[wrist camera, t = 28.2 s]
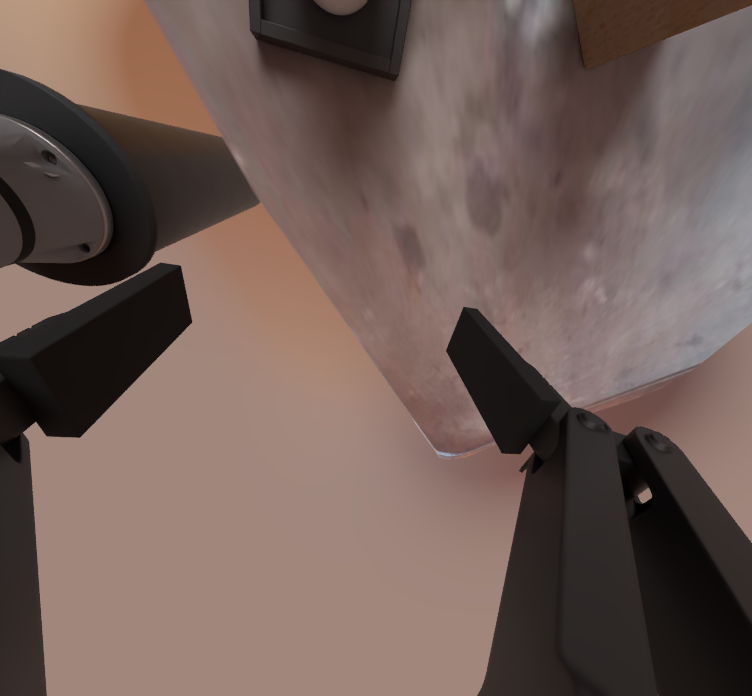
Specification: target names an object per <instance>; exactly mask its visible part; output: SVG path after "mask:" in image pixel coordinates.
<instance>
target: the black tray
mask: <svg viewBox="0 0 752 696" xmlns="http://www.w3.org/2000/svg"><path fill="white" fill-rule="evenodd" d="M410 6H411V0H369V1H368V2H367V3H366V4H365V5H364V6H363V7H362V8H361V9H360V10H358V11H357V12H355V13H352V14H350V15H343V16H341V15H335V14H331V13H329V12H327V11H325V10H324V9H322V8H321V7H320V6H318V5H317V4H316V3H315V2H314V1H313V0H249V14H250V31H251V32H252V34H253V35H254V37H255V38H256V39H257V40H260V41H263V42H267V43H270V44H273V45H277V46H280V47H283V48H287V49H290V50H293V51H297V52H300V53H303V54H307V55H310V56H313V57H317V58H320V59H323V60H327V61H330V62H333V63H337V64H340V65H343V66H347V67H350V68H353V69H357V70H360V71H363V72H367V73H370V74H373V75H377V76H380V77H383V78H387V79H390V80H393V81H395V80H396V79H397V77H398V75H399V69H400V64H401V58H402V52H403V46H404V40H405V35H406V29H407V23H408V17H409V11H410Z"/></svg>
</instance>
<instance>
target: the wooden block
mask: <svg viewBox="0 0 752 696" xmlns="http://www.w3.org/2000/svg"><path fill="white" fill-rule="evenodd" d="M573 4H574V9H575V15H576V21H577V27H578V32H579V38H580V44H581V49H582V55H583V61H584V67H585V68H586V69H590V68H593V67H595V66H598V65H600V64H603V63H605V62H608V61H610V60H613V59H615V58H618V57H621V56H623V55H626V54H628V53H631V52H633V51H636V50H638V49H641V48H643V47H646V46H649V45H651V44H654V43H656V42H659V41H661V40H664V39H666V38H669V37H671V36H674V35H677V34H679V33H682V32H684V31H687V30H689V29H692V28H694V27H697V26H699V25H702V24H705V23H707V22H710V21H712V20H715V19H717V18H720V17H722V16H725V15H727V14H730V13H733V12H735V11H738V10H740V9H743V8H745V7H748V6H750V5H752V0H573Z"/></svg>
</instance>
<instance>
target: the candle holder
mask: <svg viewBox="0 0 752 696" xmlns="http://www.w3.org/2000/svg"><path fill="white" fill-rule="evenodd" d="M313 1H314V2H315V3H316V4H317V5H318V6H320V7H321V8H322V9H324V10H325V11H327V12H329V13H331V14H335V15H341V16H343V15H350V14H352V13H355V12H357V11H358V10H360V9H361V8H362V7H363V6H364V5H365V4H366V3H367V2H368V1H369V0H313Z"/></svg>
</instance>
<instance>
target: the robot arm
mask: <svg viewBox="0 0 752 696" xmlns="http://www.w3.org/2000/svg"><path fill="white" fill-rule="evenodd" d="M114 232H115V220H114V214H113V210H112V207H111V204H110V201H109V199H108V197H107V195H106V193H105V191H104V189H103V187H102V186H101V184H100V183H99V181H98V180H97V178H96V177H95V175H94V174H93V173H92V172H91V170H90V169H89V168H88V167H87V166H86V165H85V163H84V162H83V161H82V160H81V159H80V158H79V157H78V156H77V155H76V154H75V153H74V152H72V151H71V150H70V149H69V148H68V147H67V146H65V145H64V144H63V143H61V142H60V141H59V140H57V139H56V138H55V137H53V136H52V135H50V134H49V133H47V132H45V131H43V130H42V129H40V128H38V127H36V126H34V125H32V124H30V123H28V122H25V121H23V120H20V119H18V118H15V117H11V116H8V115H3V114H0V268H2V267H4V266H8V265H11V264H14V263H18V262H27V263H75V262H80V261H83V260H86V259H89V258H92V257H95V256H97V255H99V254H101V253H102V252H103V251H105V250H106V249H107V248H108V246H109V245H110V243H111V242H112V239H113V236H114ZM191 323H192V319H191V314H190V309H189V304H188V299H187V294H186V289H185V284H184V280H183V275H182V269H181V266H179V265H173V264H166V263H159V264H157V265H155V266H153V267H151V268H150V269H148V270H146V271H144V272H142V273H140V274H138V275H136V276H135V277H133V278H131V279H129V280H127V281H125V282H123V283H121V284H119V285H117V286H116V287H114V288H112V289H110V290H108V291H106V292H104V293H102V294H100V295H99V296H97V297H95V298H93V299H91V300H89V301H87V302H85V303H83V304H81V305H80V306H78V307H76V308H74V309H72V310H70V311H68V312H65V313H62V314H59V315H56V316H52V317H49V318H47V319H45V320H43V321H41V322H39V323H37V324H35V325H33V326H32V328H27V329H25V330H23V331H22V332H19V333H18V334H17V336H12V337H10V338H8V339H6V340H4V341H2V342H0V696H47V694H46V679H45V665H44V651H43V636H42V621H41V608H40V593H39V579H38V564H37V550H36V535H35V521H34V506H33V492H32V477H31V463H30V449H29V441H28V439H27V438H26V436H25V435H24V434H23V432H24V431H25V430H26V429H27V428H28V427H30V426H31V425H32V424H33V423H35V422H37V424H38V425H39V426H40V428H41V429H42V430H43V432H44V433H45V435H46V436H53V437H78V438H80V437H81V436H82V435H83V434H84V433H85V432H86V431H87V430H88V429H89V428H90V427H91V426H92V425H93V424H94V423H95V422H96V421H97V419H99V418H100V417H101V416H102V414H103V413H104V412H105V411H106V410H107V409H108V408H109V407H110V406H111V405H112V404H113V403H114V402H115V401H116V400H117V399H118V398H119V397H120V396H121V395H122V394H123V393H124V392H125V391H126V390H127V389H128V388H129V387H130V386H131V385H132V384H133V383H134V382H135V381H136V380H137V378H138V377H139V376H140V375H141V374H142V373H143V372H144V371H145V370H146V369H147V368H148V367H149V366H150V365H151V364H152V363H153V362H154V361H155V360H156V359H157V358H158V357H159V356H160V355H161V354H162V353H163V352H164V351H165V350H166V349H167V348H168V347H169V346H170V345H171V344H172V342H174V340H176V338H177V337H178V336H179V335H180V334H181V333H182V332H183V331H184V330H185V329H186V328H187V327H188V326H189V325H190V324H191ZM446 352H447V353H448V355H449V357H450V359H451V361H452V363H453V364H454V366H455V368H456V370H457V372H458V374H459V375H460V377H461V379H462V381H463V383H464V385H465V386H466V388H467V390H468V392H469V394H470V396H471V397H472V399H473V401H474V403H475V405H476V407H477V408H478V410H479V412H480V414H481V416H482V418H483V420H484V421H485V423H486V425H487V427H488V429H489V431H490V432H491V434H492V436H493V438H494V440H495V442H496V443H497V445H498V447H499V449H500V451H501V453H505V454H521V452H522V451H523V450H524V449H525V447H526V446H527V445H528V444H530V446H531V447H532V448H533V450H534V453H533V454H532V455H531V456H530V458H529V459H528V460H527V461H526V462H525V463H524V465H523V466H522V467H521V469H520V470H519V471H520V472H523V471H524V470H525V469H527V472H526V477H525V482H524V487H523V492H522V497H521V502H520V508H519V512H518V518H517V522H516V528H515V532H514V537H513V542H512V547H511V552H510V557H509V562H508V567H507V572H506V577H505V582H504V587H503V592H502V597H501V602H500V607H499V612H498V617H497V622H496V627H495V632H494V638H493V643H492V647H491V653H490V658H489V663H488V667H487V672H486V676H485V680H484V683H483V685H482V688H481V690H480V692H479V694H478V695H477V696H752V543H751V541H750V540H749V539H748V537H747V536H746V535H745V534H744V532H743V531H742V530H741V528H740V527H739V526H738V525H737V523H736V522H735V520H734V519H733V518H732V516H731V515H730V514H729V512H728V511H727V510H726V508H725V507H724V506H723V504H722V503H721V502H720V501H719V499H718V498H717V497H716V495H715V494H714V493H713V491H712V490H711V489H710V487H709V486H708V485H707V483H706V482H705V481H704V479H703V478H702V477H701V475H700V474H699V473H698V472H697V470H696V469H695V467H694V466H693V465H692V464H691V462H690V461H689V460H688V458H687V457H686V456H685V454H684V453H683V452H682V451H681V450H680V449H679V447H678V446H677V445H675V444H674V443H673V442H671V441H670V439H669V438H667V437H666V436H663V435H662V434H661V433H659V432H655V431H653V430H651V429H648V428H644V427H636V428H634V429H633V430H632V431H631V432H630V433H629V434H628V435H627V436H626V435H623V434H620V433H616V432H613V431H612V430H611V428H610V427H609V426H608V425H607V423H606V422H604V421H603V420H602V419H601V418H599V417H598V416H596V415H595V414H593V413H591V412H589V411H587V410H584V409H582V408H576V407H574V408H572V407H571V406H570V405H569V404H568V403H567V402H566V401H565V400H564V399H563V398H562V396H561V395H560V394H559V393H558V392H557V391H556V390H555V389H554V388H553V387H552V386H551V385H549V383H548V382H547V380H546V379H545V378H542V377H543V376H542V375H541V374H540V373H539V372H538V371H537V370H536V369H535V368H534V367H533V366H531V365H530V364H529V363H527V362H526V361H525V360H524V359H523V358H522V357H521V356H520V355H519V354H518V353H517V352H516V351H515V350H514V348H513V347H512V346H511V345H510V344H509V343H508V342H507V341H506V340H505V339H504V338H503V337H502V335H501V334H500V333H499V332H498V331H497V330H496V329H495V328H494V327H493V326H492V325H491V323H490V322H489V321H488V320H487V319H486V318H485V317H484V316H483V315H482V314H481V313H480V311H479V310H478V309H474V308H467V307H464V308H463V310H462V312H461V315H460V317H459V320H458V322H457V325H456V327H455V330H454V332H453V335H452V337H451V340H450V342H449V345H448V347H447V350H446ZM648 487H649V489H650V491H651V493H652V498H651V499H650V500H648V501H647V502H645V503H643V504H642V503H641V502H640V500H639V498H638V495H639V494H640V493H642V492H643V491H644V490H646V489H647V488H648Z"/></svg>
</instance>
